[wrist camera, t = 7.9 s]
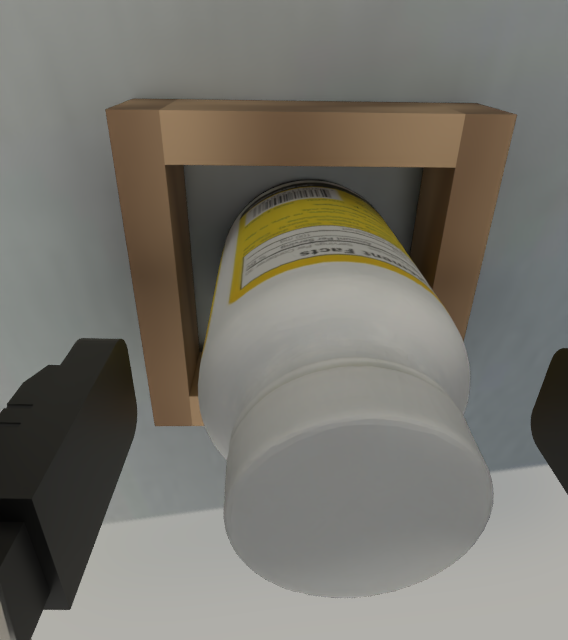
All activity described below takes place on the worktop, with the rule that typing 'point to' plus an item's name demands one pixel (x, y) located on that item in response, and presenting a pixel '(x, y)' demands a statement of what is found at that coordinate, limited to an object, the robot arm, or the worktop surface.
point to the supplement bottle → (337, 401)
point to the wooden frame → (293, 150)
